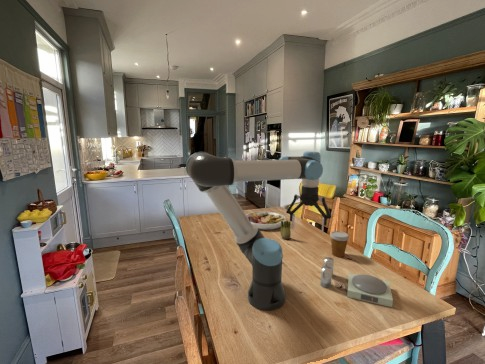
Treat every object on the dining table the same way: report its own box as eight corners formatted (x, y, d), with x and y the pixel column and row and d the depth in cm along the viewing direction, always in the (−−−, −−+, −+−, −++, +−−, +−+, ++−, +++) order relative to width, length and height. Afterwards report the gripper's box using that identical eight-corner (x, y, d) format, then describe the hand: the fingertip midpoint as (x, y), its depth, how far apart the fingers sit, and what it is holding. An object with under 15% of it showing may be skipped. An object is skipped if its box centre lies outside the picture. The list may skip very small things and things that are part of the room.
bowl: (263, 214, 212) (263, 205, 210) (293, 224, 190) (294, 214, 188) (236, 223, 192) (236, 213, 190) (266, 235, 170) (266, 223, 168)
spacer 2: (330, 289, 111) (331, 272, 109) (319, 286, 112) (320, 269, 111) (331, 283, 114) (332, 267, 113) (321, 281, 116) (322, 265, 115)
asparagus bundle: (279, 238, 164) (280, 220, 162) (284, 236, 167) (284, 218, 165) (287, 240, 160) (287, 222, 158) (291, 238, 163) (292, 220, 161)
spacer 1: (332, 278, 119) (333, 262, 117) (322, 276, 120) (323, 260, 119) (333, 273, 123) (334, 258, 121) (323, 271, 124) (324, 256, 123)
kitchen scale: (392, 308, 99) (393, 298, 98) (347, 297, 105) (347, 288, 104) (388, 287, 112) (389, 279, 111) (348, 279, 118) (349, 271, 117)
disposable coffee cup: (350, 254, 142) (351, 233, 140) (343, 260, 135) (344, 239, 133) (333, 249, 148) (334, 229, 146) (325, 254, 142) (327, 234, 139)
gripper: (339, 186, 117) (335, 230, 121) (284, 182, 125) (282, 223, 129) (339, 189, 110) (335, 236, 114) (281, 185, 118) (279, 228, 122)
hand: (307, 229), depth 121 cm, fingers open, 13 cm apart
